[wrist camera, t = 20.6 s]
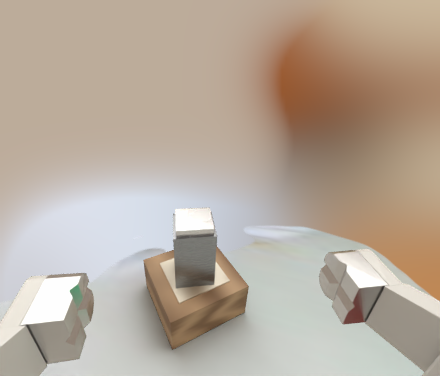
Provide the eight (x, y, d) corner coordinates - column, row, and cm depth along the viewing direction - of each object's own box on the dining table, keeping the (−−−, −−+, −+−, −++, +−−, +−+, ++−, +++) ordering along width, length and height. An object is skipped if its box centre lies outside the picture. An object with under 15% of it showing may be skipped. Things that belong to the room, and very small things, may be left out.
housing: (214, 284, 38) (217, 230, 33) (175, 288, 37) (173, 233, 32) (209, 257, 42) (211, 206, 37) (175, 259, 41) (172, 207, 36)
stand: (172, 349, 35) (170, 322, 32) (146, 285, 44) (143, 259, 41) (244, 312, 41) (248, 285, 38) (208, 261, 50) (209, 236, 47)
